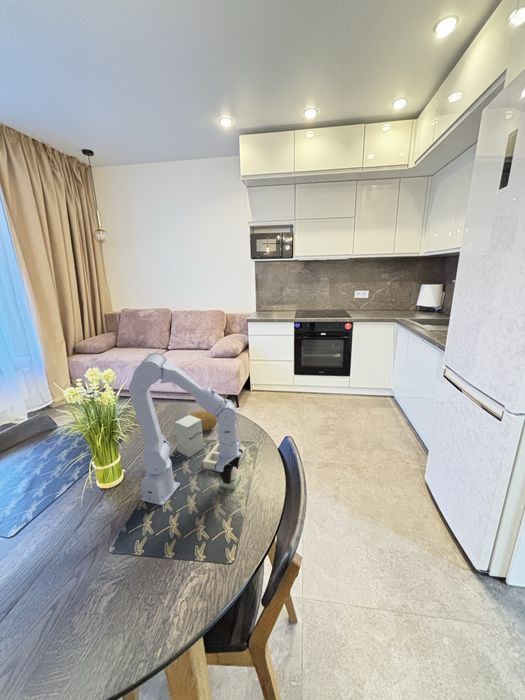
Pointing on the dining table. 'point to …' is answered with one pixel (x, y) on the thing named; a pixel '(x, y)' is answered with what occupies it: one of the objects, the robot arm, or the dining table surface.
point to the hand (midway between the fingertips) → (230, 476)
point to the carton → (213, 458)
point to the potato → (205, 419)
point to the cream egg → (234, 473)
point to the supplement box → (189, 435)
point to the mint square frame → (231, 483)
